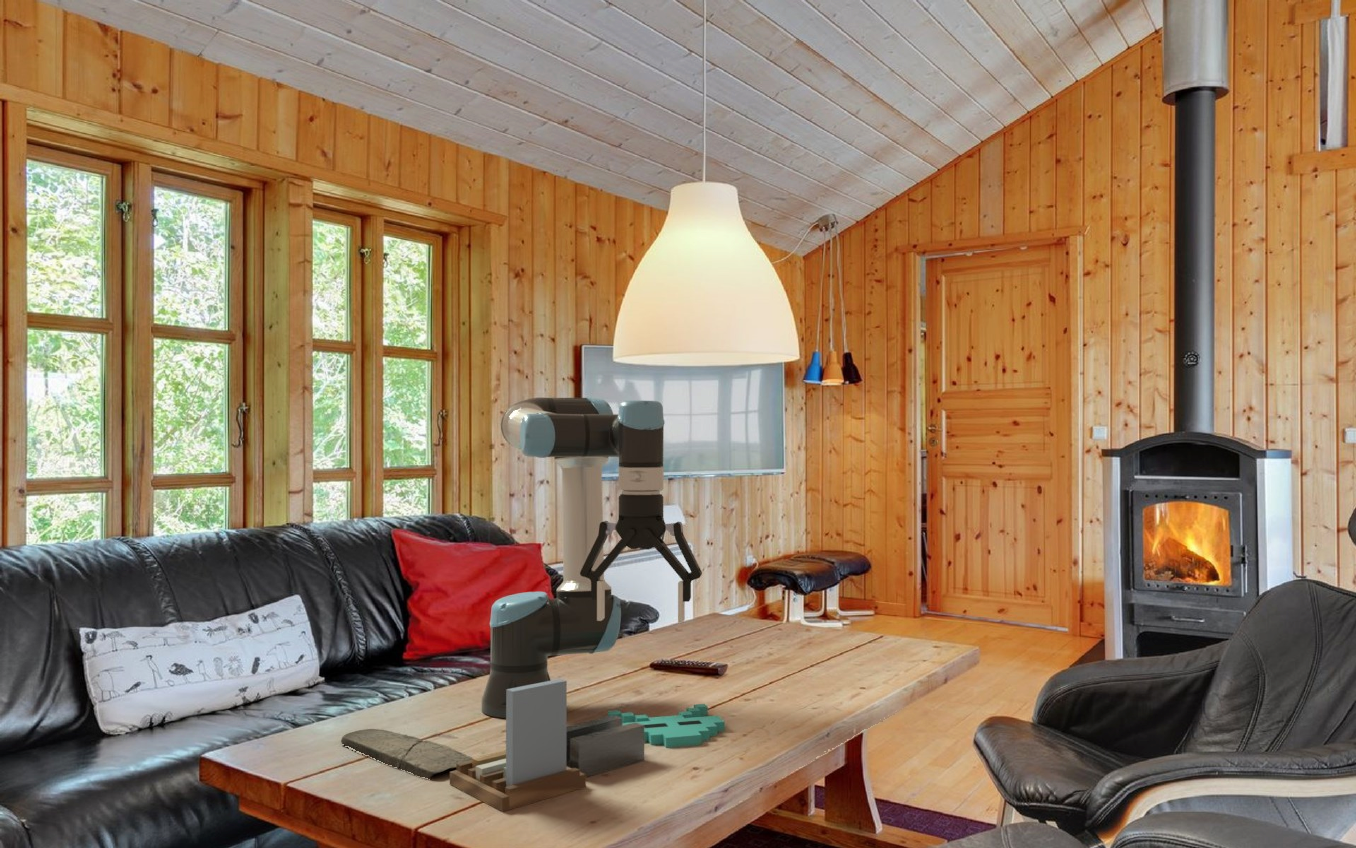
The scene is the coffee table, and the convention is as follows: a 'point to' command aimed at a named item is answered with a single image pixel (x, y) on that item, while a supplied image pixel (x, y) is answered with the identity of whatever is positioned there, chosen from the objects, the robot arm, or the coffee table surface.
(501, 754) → the offcut
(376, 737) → the stone slab
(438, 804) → the coffee table surface
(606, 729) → the holder
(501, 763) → the offcut
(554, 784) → the rack
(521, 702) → the tall sheet
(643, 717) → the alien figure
